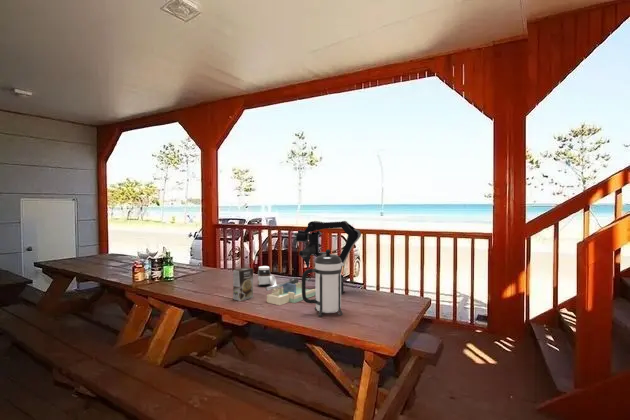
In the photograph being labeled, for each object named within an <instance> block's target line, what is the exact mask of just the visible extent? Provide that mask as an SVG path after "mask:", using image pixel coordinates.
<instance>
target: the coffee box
mask: <svg viewBox="0 0 630 420" xmlns="http://www.w3.org/2000/svg"><path fill="white" fill-rule="evenodd" d="M232 273H233V274H232V276H233V279H232V280H233V282H232V286H233V287H232V288H233V289H232V291H233V293H232V297H233V300H235V301H238V302H241V301H245V300H248V299H253V298H254V268H251V267H240V268H236V269H233V271H232Z"/></svg>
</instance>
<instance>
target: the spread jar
mask: <svg viewBox="0 0 630 420" xmlns="http://www.w3.org/2000/svg"><path fill="white" fill-rule="evenodd" d="M276 284H277V279H276V277H275V275H274V274H271V270H270V266H268V265H262V266H261V265H260V266H258V271H257V286H258V287H262V288H263V287H264V288H266V287H269V286H273V285H276Z"/></svg>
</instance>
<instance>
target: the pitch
mask: <svg viewBox="0 0 630 420" xmlns="http://www.w3.org/2000/svg"><path fill="white" fill-rule="evenodd" d="M295 284H296V293H293V292H283V287H282V288H281V287H278V288H275V289H272V291H271V293H268V294H266V303H268V304H273V305H275V306H282V305H285V304H288V303H292V304H296V303H299V302H302V301H304V300H303V298H302V282H299V281H298V283H295ZM279 295H283V296H280V297H278V296H279ZM314 296H315V297H316V287H315V288H312V289H310V288H309V289H308V288H306V298H307V299H309V298H311V297H314Z"/></svg>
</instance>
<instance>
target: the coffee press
mask: <svg viewBox="0 0 630 420" xmlns="http://www.w3.org/2000/svg"><path fill="white" fill-rule="evenodd" d="M325 252H326V253H327V254H322V255H319V256H315V259H314V264H315V268H307V269H305V271H304V272H303V273H302V276H301V283H302V298H303V300H302V301H304V302H305V303H307V304H315V307H314V311H317V312H318V317H321V318H323V316H324V315H325V314H334V313H337V315H338V316H339V317H341V316H343V314H344V313H343V311H342V309H341V308H342V294H341V274H342V271H341V266H342V267H343V266H345V263H344V264H343V263H342V260H341V258H340V257H339V256H340V255H337V254H334V253H331V249H326V250H325ZM312 273H315V288H316V295H315V298H314V299H309V298H306V289H307V288H306V287H307V286H306V285H307V284H306V283H307V280H306V279H307V276H308V275H309V274H312Z"/></svg>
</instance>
